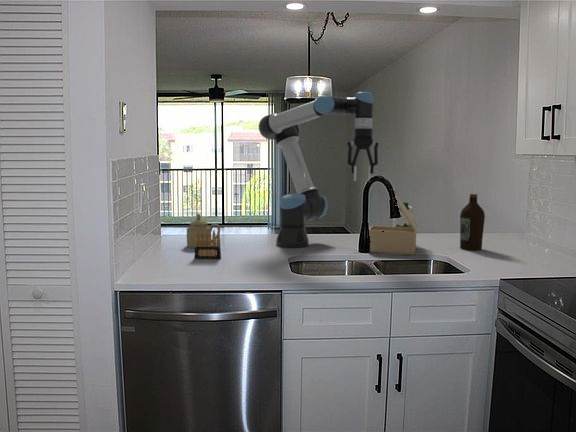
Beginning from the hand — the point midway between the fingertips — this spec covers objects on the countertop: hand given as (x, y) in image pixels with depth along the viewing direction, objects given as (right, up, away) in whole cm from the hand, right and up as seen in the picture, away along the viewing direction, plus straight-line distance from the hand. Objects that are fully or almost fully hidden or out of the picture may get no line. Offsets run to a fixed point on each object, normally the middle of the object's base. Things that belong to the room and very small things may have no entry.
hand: (362, 180), depth 253 cm
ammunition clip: (-66, -33, -19) cm, 76 cm away
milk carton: (+21, -29, +18) cm, 40 cm away
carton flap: (+17, -13, -3) cm, 22 cm away
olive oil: (+51, -31, +8) cm, 60 cm away
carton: (+13, -31, 0) cm, 34 cm away
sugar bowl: (-72, -30, +8) cm, 78 cm away
